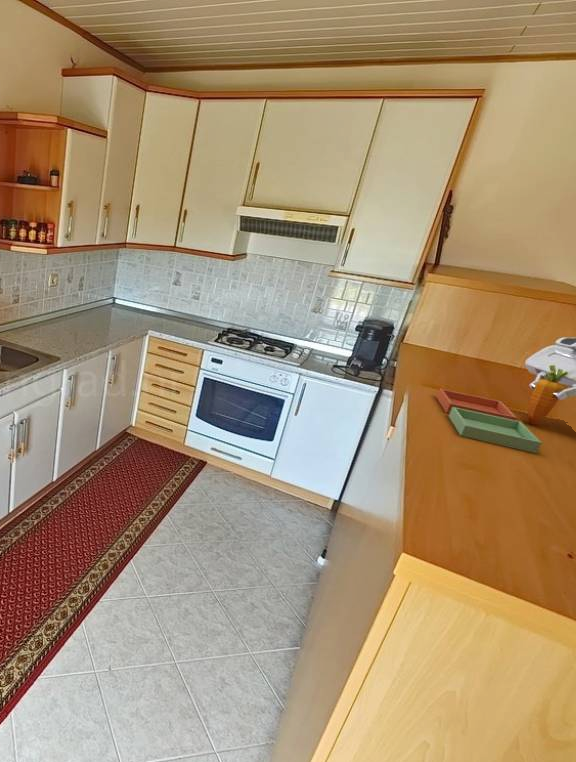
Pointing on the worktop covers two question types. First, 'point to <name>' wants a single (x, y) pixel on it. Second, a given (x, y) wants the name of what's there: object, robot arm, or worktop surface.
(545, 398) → the carrot
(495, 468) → the worktop surface
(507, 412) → the terracotta tray
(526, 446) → the green tray
